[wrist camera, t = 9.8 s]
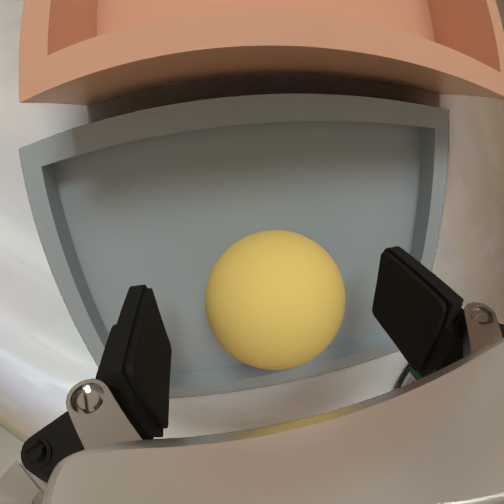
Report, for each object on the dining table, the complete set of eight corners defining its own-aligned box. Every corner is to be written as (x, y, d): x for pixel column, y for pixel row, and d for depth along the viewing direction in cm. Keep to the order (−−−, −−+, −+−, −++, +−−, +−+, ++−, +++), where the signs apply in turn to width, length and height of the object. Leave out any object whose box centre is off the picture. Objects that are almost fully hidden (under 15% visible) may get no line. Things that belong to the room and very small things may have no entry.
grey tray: (422, 107, 11) (448, 109, 9) (394, 328, 17) (408, 347, 16) (42, 143, 9) (18, 149, 7) (124, 375, 16) (119, 400, 14)
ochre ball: (318, 204, 12) (382, 261, 7) (315, 303, 14) (356, 378, 9) (195, 219, 11) (190, 292, 7) (213, 319, 13) (221, 407, 9)
